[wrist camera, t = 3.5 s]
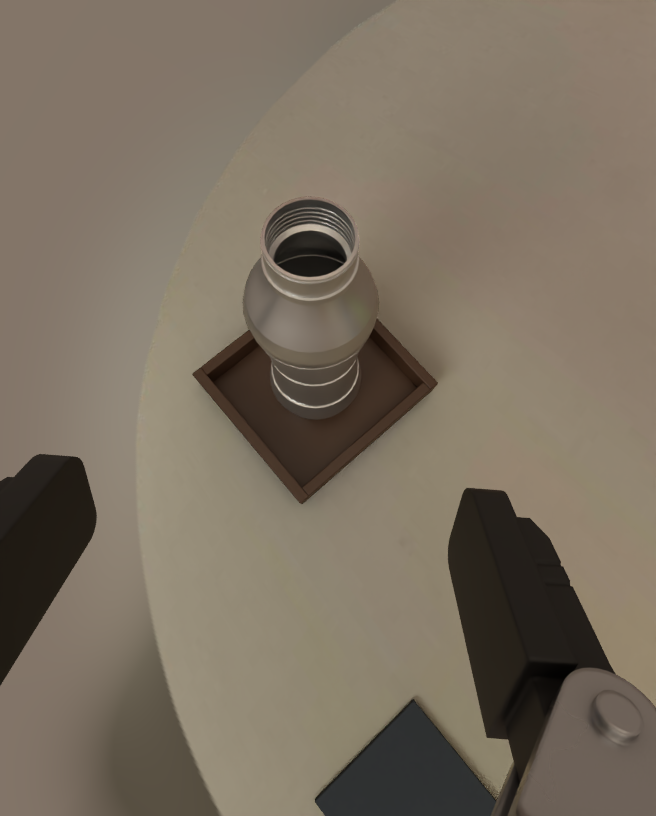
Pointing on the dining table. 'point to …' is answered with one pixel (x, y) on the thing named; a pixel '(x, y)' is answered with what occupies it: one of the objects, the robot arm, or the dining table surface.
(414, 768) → the mat
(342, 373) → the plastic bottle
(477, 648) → the robot arm
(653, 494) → the dining table surface
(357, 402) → the tray
